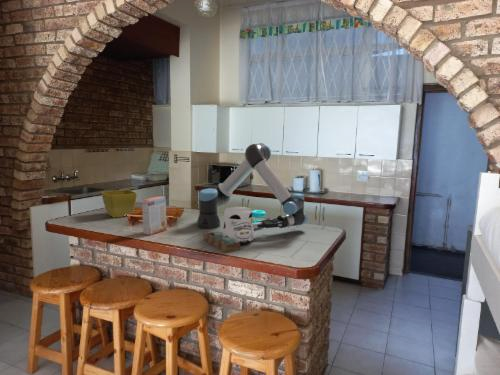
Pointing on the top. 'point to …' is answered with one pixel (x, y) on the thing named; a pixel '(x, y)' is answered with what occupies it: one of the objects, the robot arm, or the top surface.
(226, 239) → the block
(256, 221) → the donuts
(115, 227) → the top surface
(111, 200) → the flower pot
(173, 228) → the top surface
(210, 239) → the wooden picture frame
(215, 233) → the block
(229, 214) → the milk container
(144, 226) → the cracker box
